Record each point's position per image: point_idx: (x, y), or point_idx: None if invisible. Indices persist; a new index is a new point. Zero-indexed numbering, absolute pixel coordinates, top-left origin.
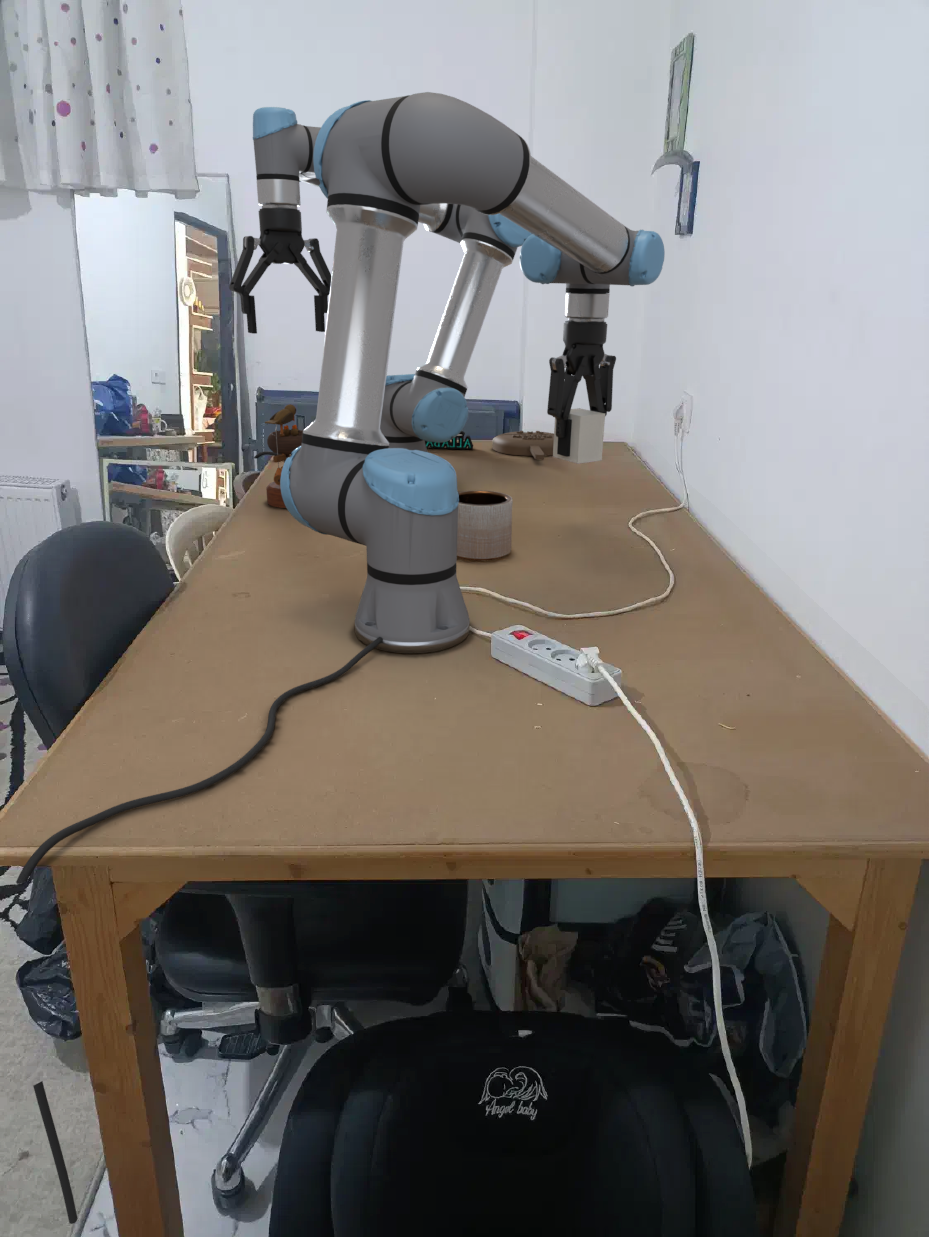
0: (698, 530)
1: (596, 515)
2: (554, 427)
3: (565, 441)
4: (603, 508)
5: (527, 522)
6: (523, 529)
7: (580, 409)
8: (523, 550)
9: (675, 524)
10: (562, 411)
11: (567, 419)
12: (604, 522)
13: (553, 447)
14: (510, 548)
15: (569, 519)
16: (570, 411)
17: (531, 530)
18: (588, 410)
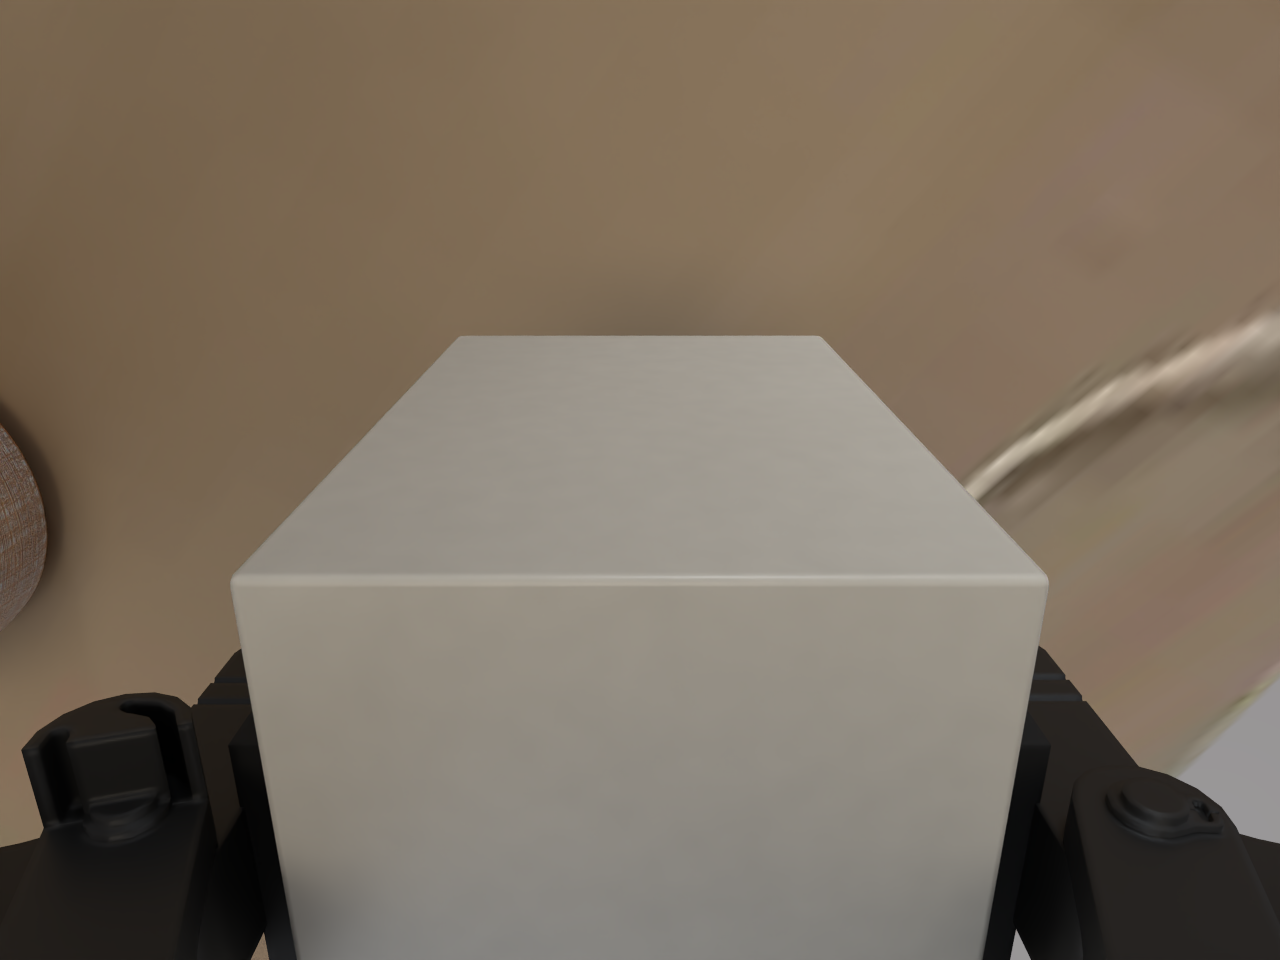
0: (1184, 727)
1: (979, 213)
2: (354, 447)
3: None
4: (1171, 86)
5: (454, 109)
6: (341, 237)
7: (913, 732)
8: (144, 559)
9: (1194, 600)
10: (196, 909)
11: (288, 923)
12: (893, 370)
13: (433, 364)
14: (3, 627)
15: (753, 199)
16: (489, 839)
17: (376, 281)
18: (956, 902)
